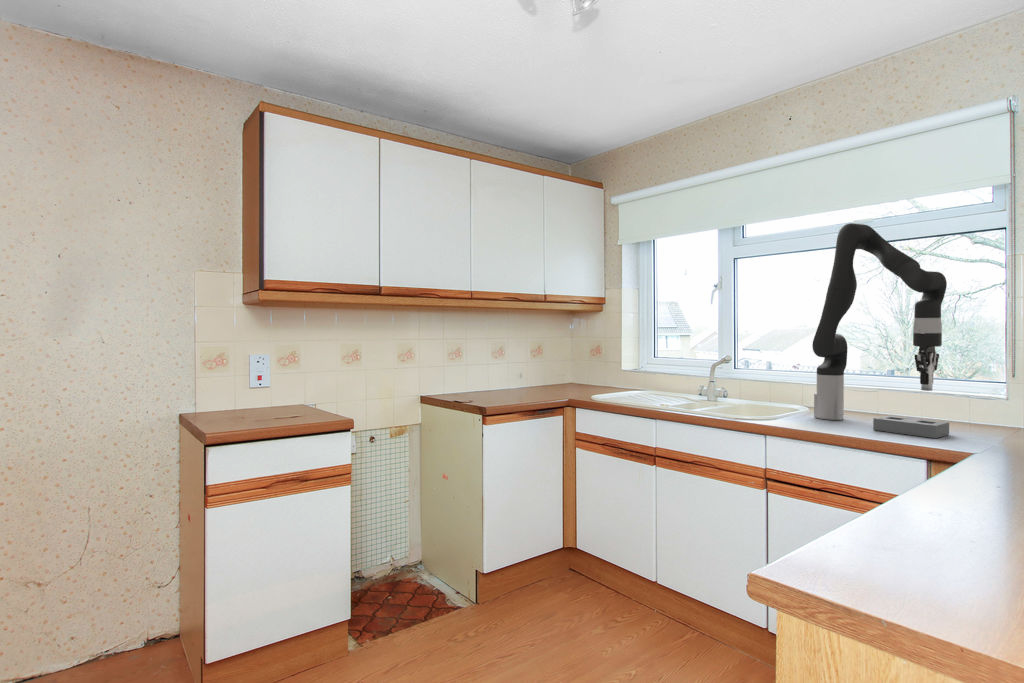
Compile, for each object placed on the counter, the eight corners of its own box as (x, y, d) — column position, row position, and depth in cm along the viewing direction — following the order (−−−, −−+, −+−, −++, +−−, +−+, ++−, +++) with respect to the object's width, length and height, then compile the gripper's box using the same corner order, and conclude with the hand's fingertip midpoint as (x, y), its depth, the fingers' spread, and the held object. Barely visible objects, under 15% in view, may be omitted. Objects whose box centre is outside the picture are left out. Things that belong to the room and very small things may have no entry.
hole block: (873, 429, 188) (873, 418, 188) (887, 426, 194) (887, 415, 194) (935, 438, 173) (936, 425, 173) (949, 434, 179) (949, 422, 179)
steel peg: (919, 390, 180) (919, 363, 180) (923, 389, 181) (923, 362, 181) (930, 391, 177) (930, 363, 177) (933, 390, 179) (934, 363, 179)
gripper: (922, 331, 186) (921, 382, 186) (905, 332, 178) (904, 384, 179) (949, 331, 180) (948, 383, 180) (932, 332, 172) (931, 386, 172)
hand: (926, 383), depth 179 cm, fingers closed on steel peg, 3 cm apart
